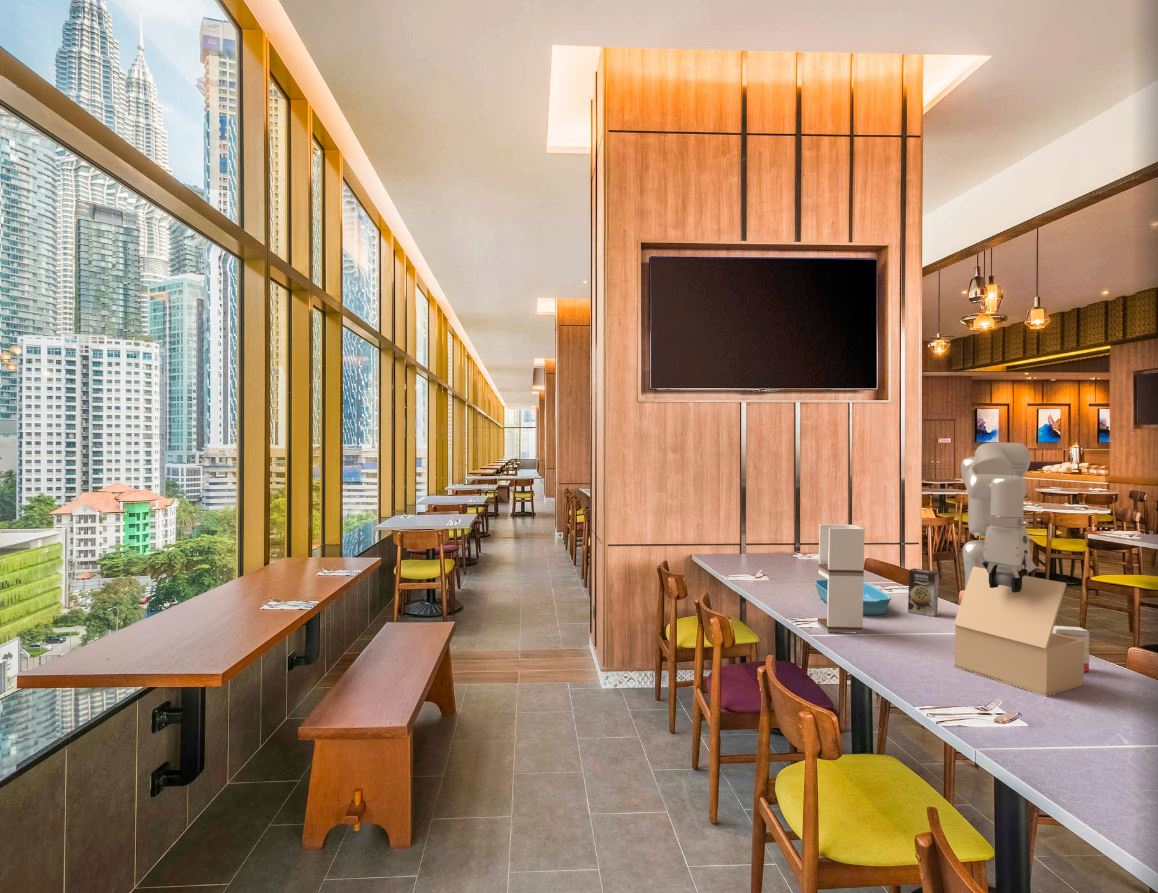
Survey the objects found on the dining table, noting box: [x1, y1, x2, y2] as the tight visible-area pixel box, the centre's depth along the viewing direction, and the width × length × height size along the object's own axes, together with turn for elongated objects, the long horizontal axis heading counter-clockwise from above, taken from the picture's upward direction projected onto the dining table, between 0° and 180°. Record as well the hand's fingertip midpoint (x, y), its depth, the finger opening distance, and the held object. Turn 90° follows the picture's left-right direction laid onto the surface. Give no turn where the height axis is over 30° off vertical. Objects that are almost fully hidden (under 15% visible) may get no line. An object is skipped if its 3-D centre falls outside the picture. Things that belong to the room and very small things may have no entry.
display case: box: [817, 523, 866, 634], centre depth 228 cm, size 11×11×35 cm
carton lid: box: [953, 567, 1067, 649], centre depth 180 cm, size 18×24×6 cm
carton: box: [954, 625, 1085, 697], centre depth 184 cm, size 18×24×12 cm
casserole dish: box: [814, 578, 892, 616], centre depth 262 cm, size 37×22×7 cm, turn 177°
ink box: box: [1052, 625, 1090, 673], centre depth 191 cm, size 9×5×12 cm, turn 80°
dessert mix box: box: [907, 567, 940, 617], centre depth 251 cm, size 9×6×16 cm
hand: (1004, 588), depth 181 cm, fingers closed on carton lid, 5 cm apart
